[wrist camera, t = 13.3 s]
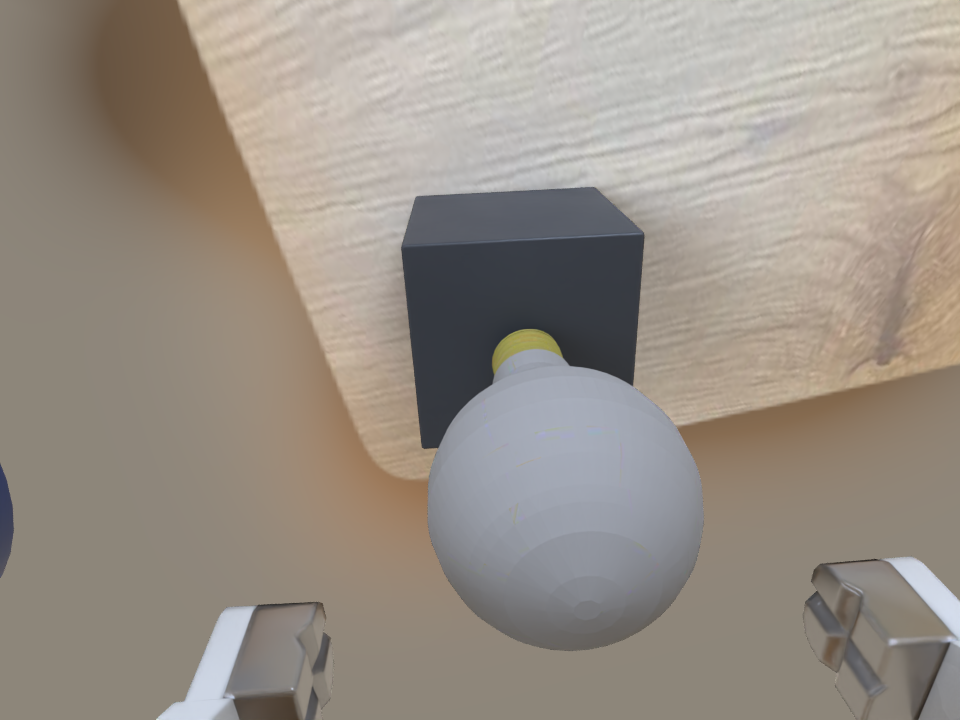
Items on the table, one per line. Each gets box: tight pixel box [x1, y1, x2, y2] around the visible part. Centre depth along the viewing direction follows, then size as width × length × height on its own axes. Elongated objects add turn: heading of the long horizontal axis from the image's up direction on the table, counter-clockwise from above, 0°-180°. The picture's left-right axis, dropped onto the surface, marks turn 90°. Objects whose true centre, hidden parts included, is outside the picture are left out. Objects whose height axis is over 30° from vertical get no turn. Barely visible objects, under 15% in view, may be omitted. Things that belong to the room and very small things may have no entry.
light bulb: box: [428, 329, 704, 651], centre depth 15 cm, size 6×5×10 cm
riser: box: [401, 187, 644, 449], centre depth 22 cm, size 7×7×7 cm
